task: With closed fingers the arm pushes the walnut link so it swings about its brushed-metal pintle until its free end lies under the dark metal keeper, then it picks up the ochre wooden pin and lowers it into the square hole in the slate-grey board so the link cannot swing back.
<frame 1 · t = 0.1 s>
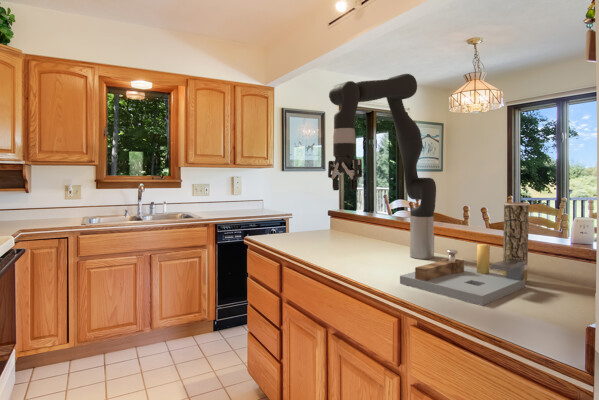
hand: (344, 190, 126), 29 cm above the worktop, fingers open, 8 cm apart
board: (461, 285, 114), on the worktop
pintle: (451, 278, 122), resting on board
brown bark-textured cylinder: (514, 281, 118), on the worktop
keeper: (514, 286, 112), resting on board
pin: (482, 272, 119), point 2 cm above the worktop, touching board
link: (439, 268, 117), point 4 cm above the worktop, hinge at 0.0°
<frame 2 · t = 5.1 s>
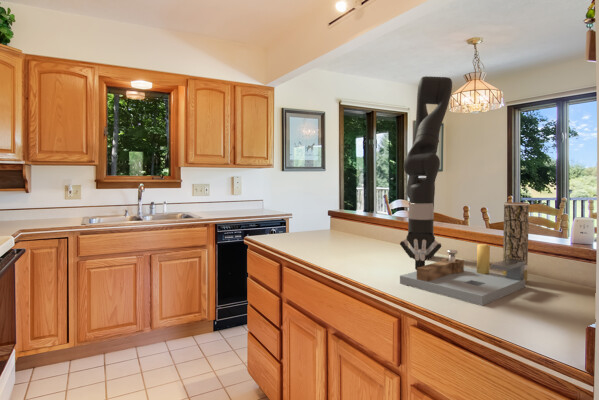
hand: (420, 271, 117), 4 cm above the worktop, fingers closed
link: (440, 269, 117), point 4 cm above the worktop, hinge at 2.0°, touching gripper
everything else where it was.
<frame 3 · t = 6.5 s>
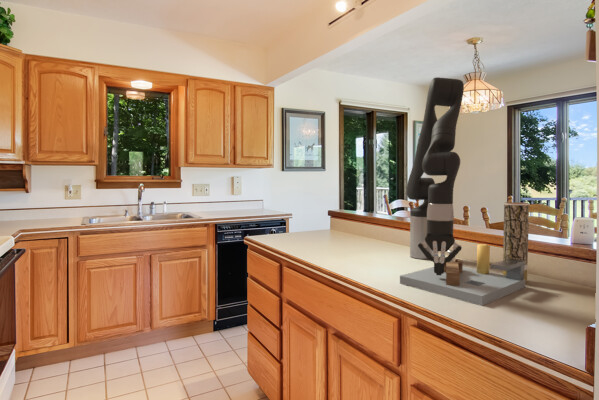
hand: (439, 274, 112), 4 cm above the worktop, fingers closed
link: (452, 270, 115), point 4 cm above the worktop, hinge at 31.2°, touching gripper
everything else where it was.
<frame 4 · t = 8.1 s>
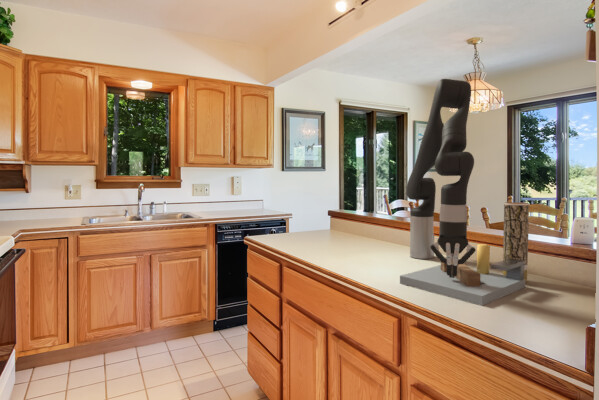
hand: (452, 277, 110), 4 cm above the worktop, fingers closed
link: (460, 271, 114), point 4 cm above the worktop, hinge at 49.6°, touching gripper
everything else where it was.
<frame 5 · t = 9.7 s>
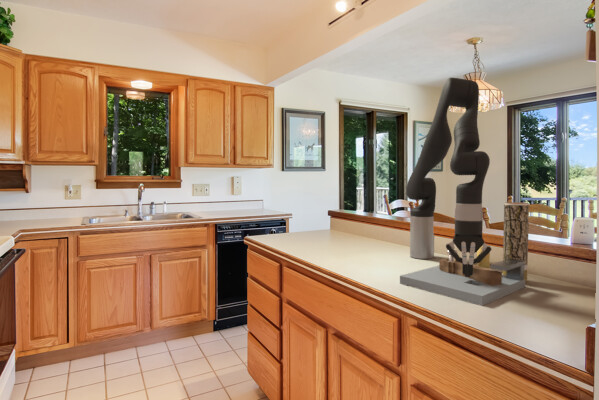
hand: (467, 276, 110), 4 cm above the worktop, fingers closed
link: (469, 270, 115), point 4 cm above the worktop, hinge at 73.4°, touching gripper
everything else where it was.
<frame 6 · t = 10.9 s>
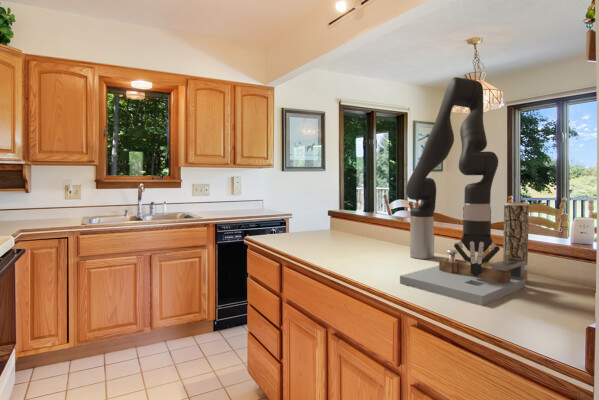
hand: (475, 275, 111), 4 cm above the worktop, fingers closed
link: (473, 269, 116), point 4 cm above the worktop, hinge at 89.3°, touching gripper
everything else where it was.
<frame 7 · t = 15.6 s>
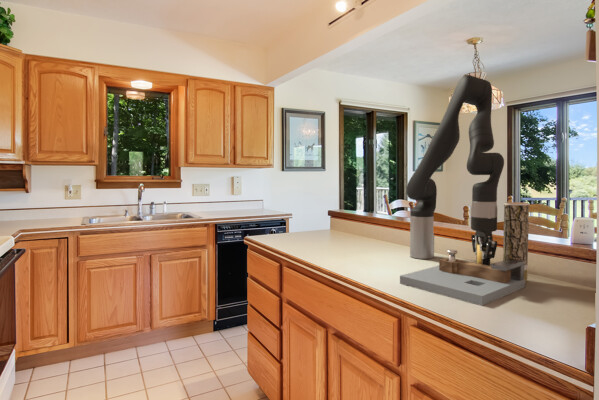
hand: (483, 268, 119), 4 cm above the worktop, fingers closed on pin, 3 cm apart
pin: (482, 272, 119), point 2 cm above the worktop, touching board, gripper
link: (473, 269, 116), point 4 cm above the worktop, hinge at 89.7°
everything else where it was.
when the fingers open (3 cm above the worktop, at t = 21.1 s): pin drops 2 cm, resting in board.
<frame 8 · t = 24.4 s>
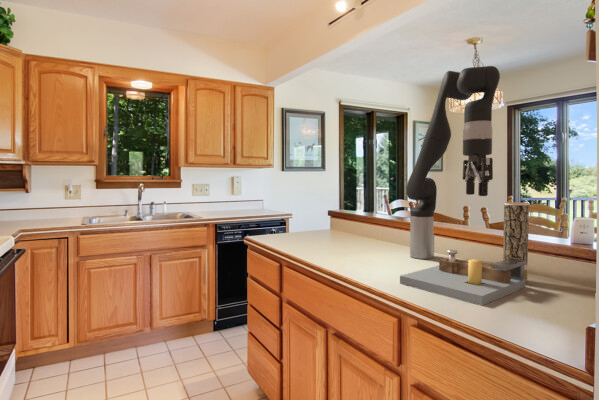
hand: (476, 195, 106), 28 cm above the worktop, fingers open, 8 cm apart
pin: (474, 291, 108), resting in board
everything else where it was.
at the end: link at +90° (first picture: +0°); pin 0.2 cm from the target spot, resting in board; pin tilted 0° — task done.
